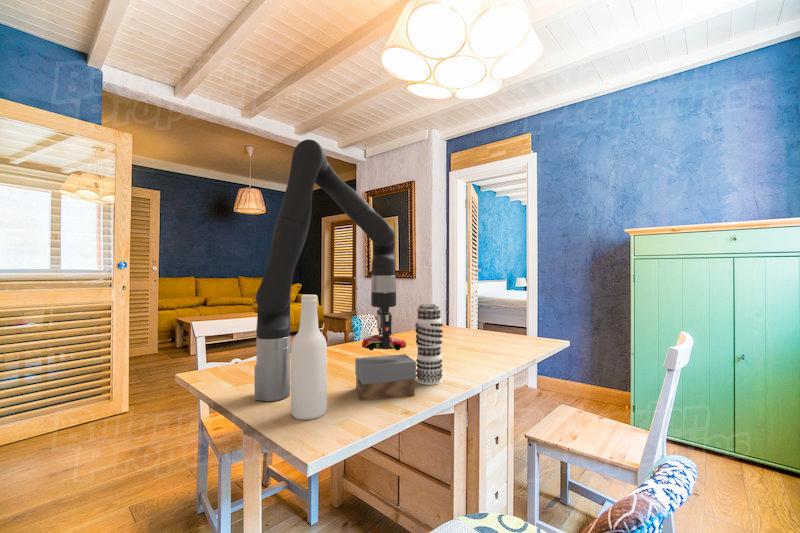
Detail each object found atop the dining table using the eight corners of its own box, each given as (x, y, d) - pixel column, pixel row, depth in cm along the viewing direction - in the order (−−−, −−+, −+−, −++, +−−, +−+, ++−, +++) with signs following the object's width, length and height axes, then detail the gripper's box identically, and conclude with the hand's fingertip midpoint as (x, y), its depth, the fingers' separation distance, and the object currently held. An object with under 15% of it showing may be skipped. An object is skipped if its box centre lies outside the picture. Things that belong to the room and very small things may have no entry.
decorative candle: (443, 376, 120) (442, 303, 120) (443, 385, 110) (443, 305, 111) (416, 376, 121) (415, 303, 121) (414, 384, 111) (414, 305, 112)
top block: (361, 384, 98) (361, 366, 98) (355, 374, 107) (355, 358, 107) (415, 379, 103) (415, 361, 103) (405, 369, 112) (405, 354, 112)
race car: (406, 347, 108) (406, 334, 108) (405, 351, 102) (405, 337, 102) (364, 346, 109) (364, 333, 109) (360, 350, 103) (360, 336, 104)
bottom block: (359, 401, 98) (359, 383, 98) (356, 390, 108) (356, 373, 108) (414, 397, 102) (414, 380, 102) (406, 386, 111) (406, 370, 111)
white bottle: (284, 413, 89) (284, 295, 89) (315, 404, 95) (315, 293, 96) (302, 424, 83) (302, 296, 83) (333, 413, 89) (333, 294, 89)
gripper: (368, 289, 112) (369, 342, 112) (373, 292, 98) (374, 352, 98) (392, 289, 113) (392, 341, 113) (400, 291, 99) (400, 351, 99)
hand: (384, 346), depth 105 cm, fingers closed on race car, 6 cm apart
